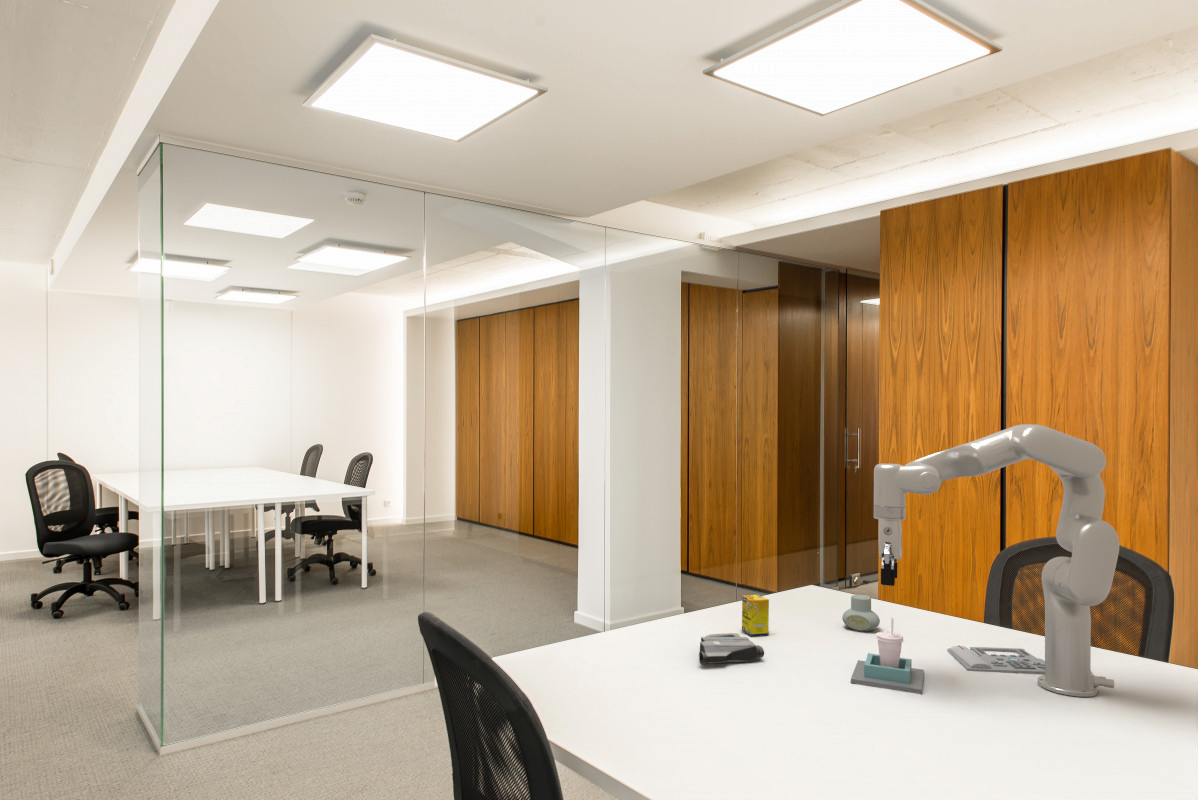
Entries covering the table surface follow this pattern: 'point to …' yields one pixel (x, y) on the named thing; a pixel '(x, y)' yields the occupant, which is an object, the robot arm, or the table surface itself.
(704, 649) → the camcorder
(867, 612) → the air freshener
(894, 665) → the smoothie
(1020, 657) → the office telephone
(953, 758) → the table surface
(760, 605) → the supplement box
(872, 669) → the mount
